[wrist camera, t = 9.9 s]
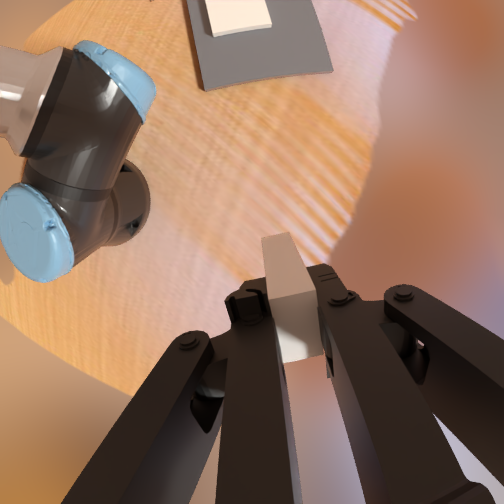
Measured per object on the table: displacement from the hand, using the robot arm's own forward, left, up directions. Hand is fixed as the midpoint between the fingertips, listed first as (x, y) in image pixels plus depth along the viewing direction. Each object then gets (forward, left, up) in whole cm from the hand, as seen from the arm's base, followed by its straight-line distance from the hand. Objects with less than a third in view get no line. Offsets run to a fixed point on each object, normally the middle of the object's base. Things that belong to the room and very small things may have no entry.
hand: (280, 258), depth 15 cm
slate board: (+5, +30, -29) cm, 43 cm away
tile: (+7, +30, -27) cm, 41 cm away
